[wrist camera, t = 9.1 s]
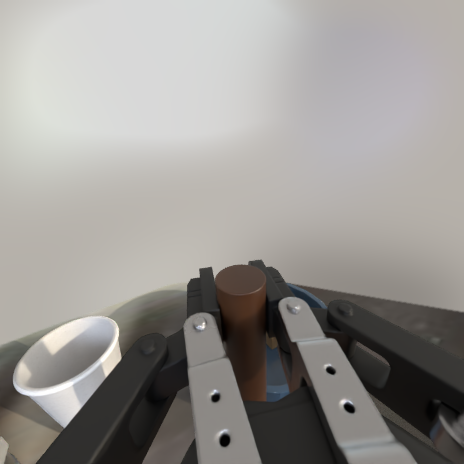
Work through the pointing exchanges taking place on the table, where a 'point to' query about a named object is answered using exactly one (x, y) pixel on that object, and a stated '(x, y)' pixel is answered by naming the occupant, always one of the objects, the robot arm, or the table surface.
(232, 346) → the cylinder
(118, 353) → the dixie cup
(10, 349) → the table surface
